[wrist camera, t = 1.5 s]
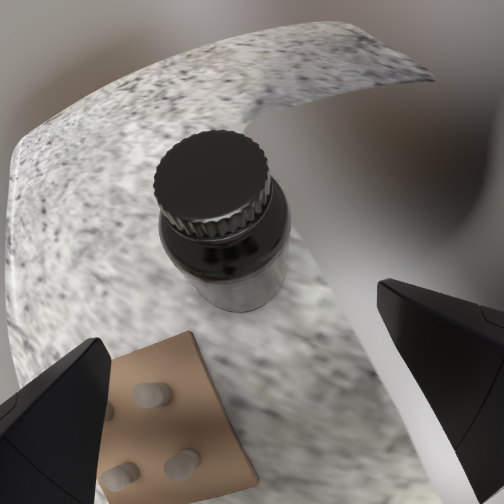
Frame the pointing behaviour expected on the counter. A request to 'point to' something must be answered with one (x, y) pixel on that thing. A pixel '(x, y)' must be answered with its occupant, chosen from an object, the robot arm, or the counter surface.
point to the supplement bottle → (224, 218)
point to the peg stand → (168, 430)
